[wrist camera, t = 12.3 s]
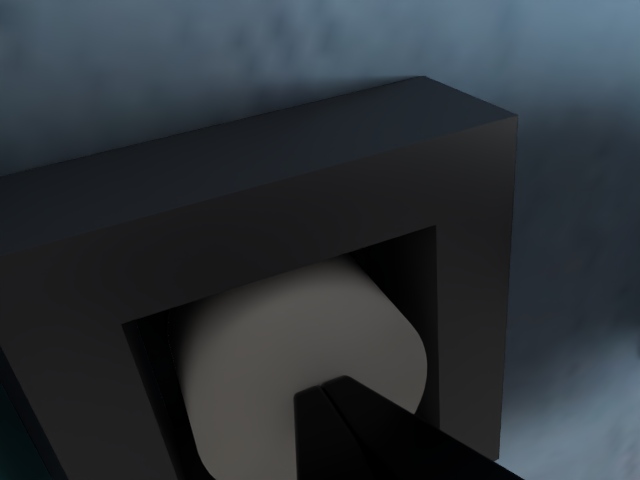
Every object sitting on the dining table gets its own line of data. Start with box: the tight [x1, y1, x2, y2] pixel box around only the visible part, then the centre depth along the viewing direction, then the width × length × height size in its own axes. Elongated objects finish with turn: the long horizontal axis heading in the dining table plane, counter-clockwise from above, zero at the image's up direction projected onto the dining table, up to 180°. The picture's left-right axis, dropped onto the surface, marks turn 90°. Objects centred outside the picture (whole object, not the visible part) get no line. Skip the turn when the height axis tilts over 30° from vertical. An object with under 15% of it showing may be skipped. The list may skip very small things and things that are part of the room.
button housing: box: [0, 76, 518, 480], centre depth 10 cm, size 7×7×2 cm
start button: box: [167, 253, 427, 480], centre depth 10 cm, size 4×4×2 cm
